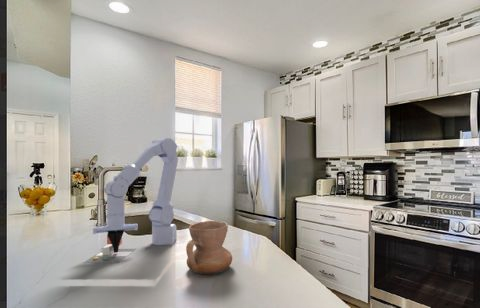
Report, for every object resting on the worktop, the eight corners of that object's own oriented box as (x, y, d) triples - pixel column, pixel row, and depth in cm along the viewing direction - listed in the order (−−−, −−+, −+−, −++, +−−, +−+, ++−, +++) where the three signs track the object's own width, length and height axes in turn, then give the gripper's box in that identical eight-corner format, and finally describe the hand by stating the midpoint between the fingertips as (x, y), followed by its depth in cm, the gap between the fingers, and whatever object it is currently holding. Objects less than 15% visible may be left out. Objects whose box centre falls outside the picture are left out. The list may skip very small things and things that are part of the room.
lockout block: (121, 247, 110) (121, 232, 110) (117, 250, 106) (117, 235, 106) (112, 247, 110) (112, 232, 110) (107, 250, 106) (107, 235, 106)
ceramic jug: (211, 256, 97) (210, 217, 97) (243, 264, 88) (242, 221, 89) (171, 274, 83) (169, 228, 83) (205, 287, 74) (203, 235, 74)
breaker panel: (136, 252, 103) (136, 247, 103) (118, 267, 89) (118, 260, 89) (105, 252, 103) (105, 247, 103) (82, 267, 89) (82, 260, 89)
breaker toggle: (114, 251, 99) (114, 244, 99) (109, 255, 95) (109, 247, 95) (108, 251, 99) (108, 244, 99) (102, 255, 95) (102, 247, 95)
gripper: (137, 210, 103) (138, 246, 103) (95, 213, 99) (95, 250, 98) (136, 213, 96) (137, 251, 96) (91, 216, 92) (91, 257, 92)
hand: (116, 251), depth 97 cm, fingers closed
